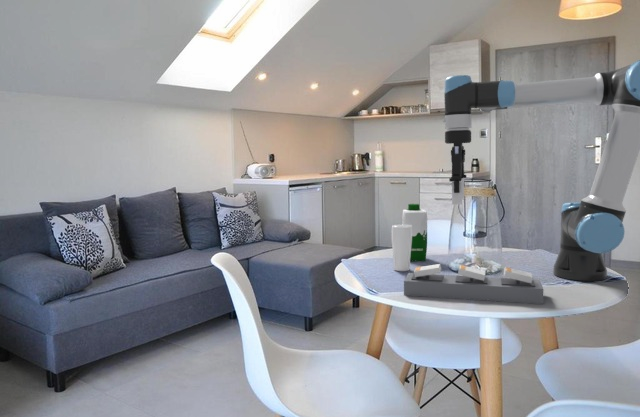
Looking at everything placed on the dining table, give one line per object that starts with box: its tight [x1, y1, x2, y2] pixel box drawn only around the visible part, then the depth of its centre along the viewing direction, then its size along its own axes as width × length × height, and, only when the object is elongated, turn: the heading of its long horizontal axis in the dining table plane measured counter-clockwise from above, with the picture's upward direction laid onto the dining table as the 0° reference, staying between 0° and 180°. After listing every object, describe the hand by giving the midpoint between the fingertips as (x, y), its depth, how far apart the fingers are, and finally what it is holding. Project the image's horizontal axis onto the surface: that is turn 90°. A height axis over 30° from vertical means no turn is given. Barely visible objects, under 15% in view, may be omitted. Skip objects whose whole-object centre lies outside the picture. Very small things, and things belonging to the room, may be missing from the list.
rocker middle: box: [457, 264, 486, 281], centre depth 148 cm, size 7×5×2 cm
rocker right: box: [503, 266, 534, 283], centre depth 145 cm, size 7×5×2 cm
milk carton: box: [402, 203, 428, 262], centre depth 195 cm, size 9×9×20 cm
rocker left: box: [413, 263, 442, 277], centre depth 152 cm, size 7×5×2 cm
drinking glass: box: [391, 224, 412, 272], centre depth 178 cm, size 7×7×15 cm
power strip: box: [403, 272, 544, 305], centre depth 149 cm, size 36×10×5 cm, turn 73°
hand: (458, 201), depth 160 cm, fingers open, 13 cm apart
